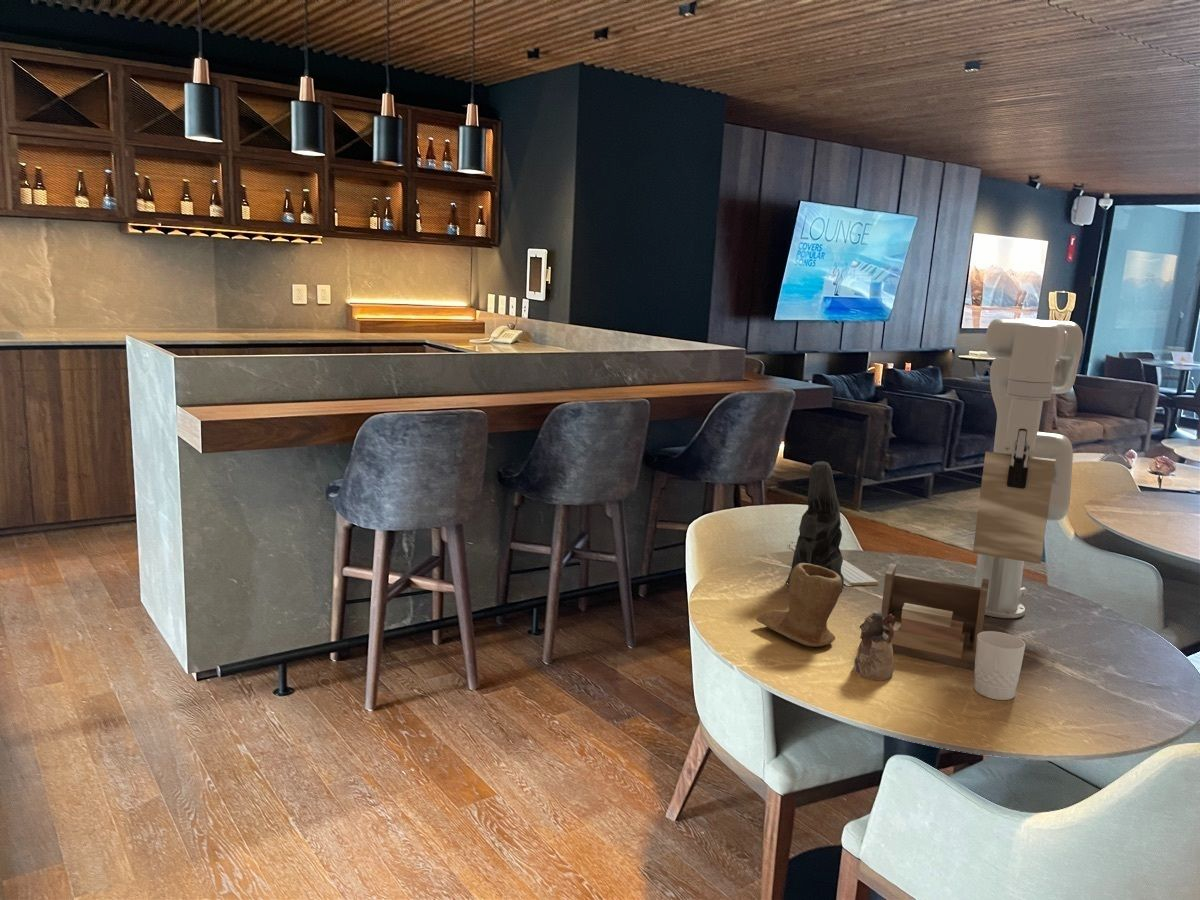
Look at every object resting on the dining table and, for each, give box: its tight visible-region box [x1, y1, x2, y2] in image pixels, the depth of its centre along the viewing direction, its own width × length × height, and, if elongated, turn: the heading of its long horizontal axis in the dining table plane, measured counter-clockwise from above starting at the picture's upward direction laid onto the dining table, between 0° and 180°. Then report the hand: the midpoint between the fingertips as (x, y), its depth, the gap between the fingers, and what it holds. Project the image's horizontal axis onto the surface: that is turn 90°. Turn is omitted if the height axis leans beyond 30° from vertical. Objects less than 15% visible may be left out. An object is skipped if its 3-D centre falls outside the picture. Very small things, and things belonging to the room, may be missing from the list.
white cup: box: [973, 630, 1026, 701], centre depth 157 cm, size 8×8×10 cm
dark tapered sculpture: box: [786, 460, 845, 592], centre depth 208 cm, size 14×14×30 cm
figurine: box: [852, 610, 895, 681], centre depth 163 cm, size 7×7×12 cm
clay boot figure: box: [756, 563, 843, 648], centre depth 179 cm, size 15×12×15 cm
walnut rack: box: [880, 563, 989, 671], centre depth 175 cm, size 14×19×14 cm
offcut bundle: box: [891, 603, 965, 658], centre depth 172 cm, size 5×13×8 cm, turn 64°
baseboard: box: [787, 541, 879, 587], centre depth 226 cm, size 30×3×10 cm
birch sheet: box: [972, 450, 1056, 565], centre depth 168 cm, size 2×12×20 cm, turn 62°
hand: (1016, 485), depth 167 cm, fingers closed on birch sheet, 2 cm apart
